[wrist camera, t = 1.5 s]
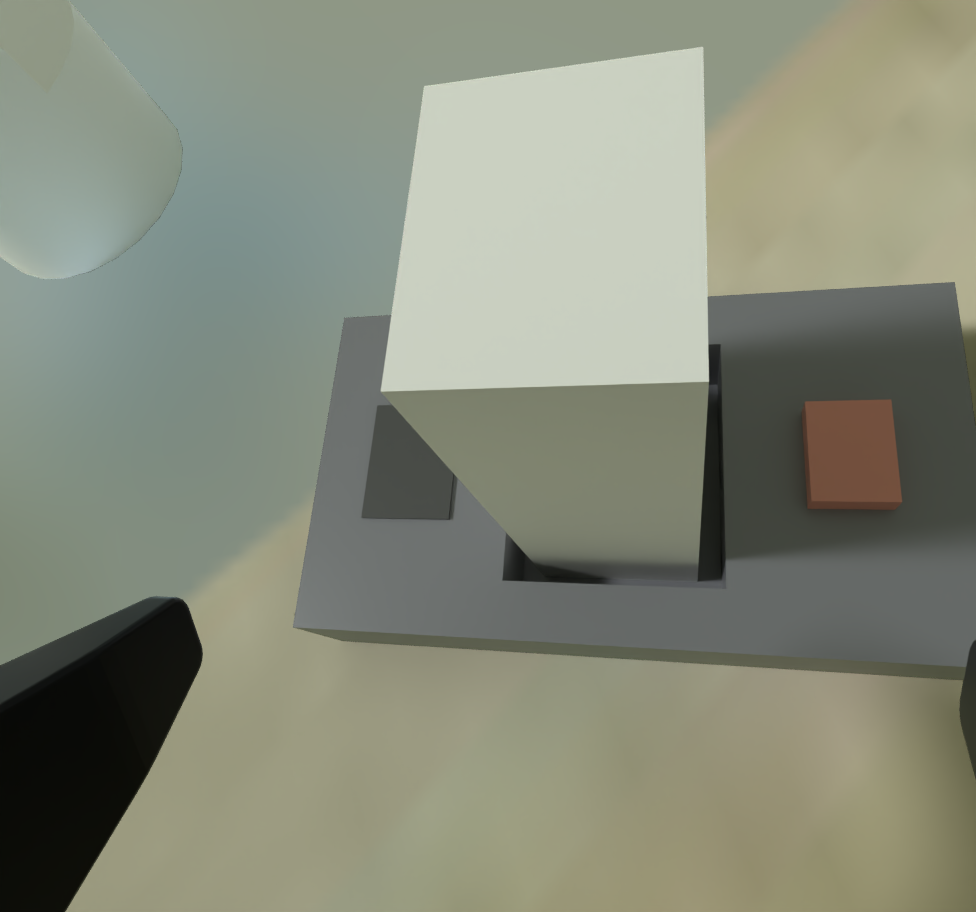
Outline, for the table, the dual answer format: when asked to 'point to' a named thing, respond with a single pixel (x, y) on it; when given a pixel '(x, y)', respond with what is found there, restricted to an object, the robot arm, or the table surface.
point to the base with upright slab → (75, 145)
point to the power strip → (725, 507)
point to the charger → (564, 308)
